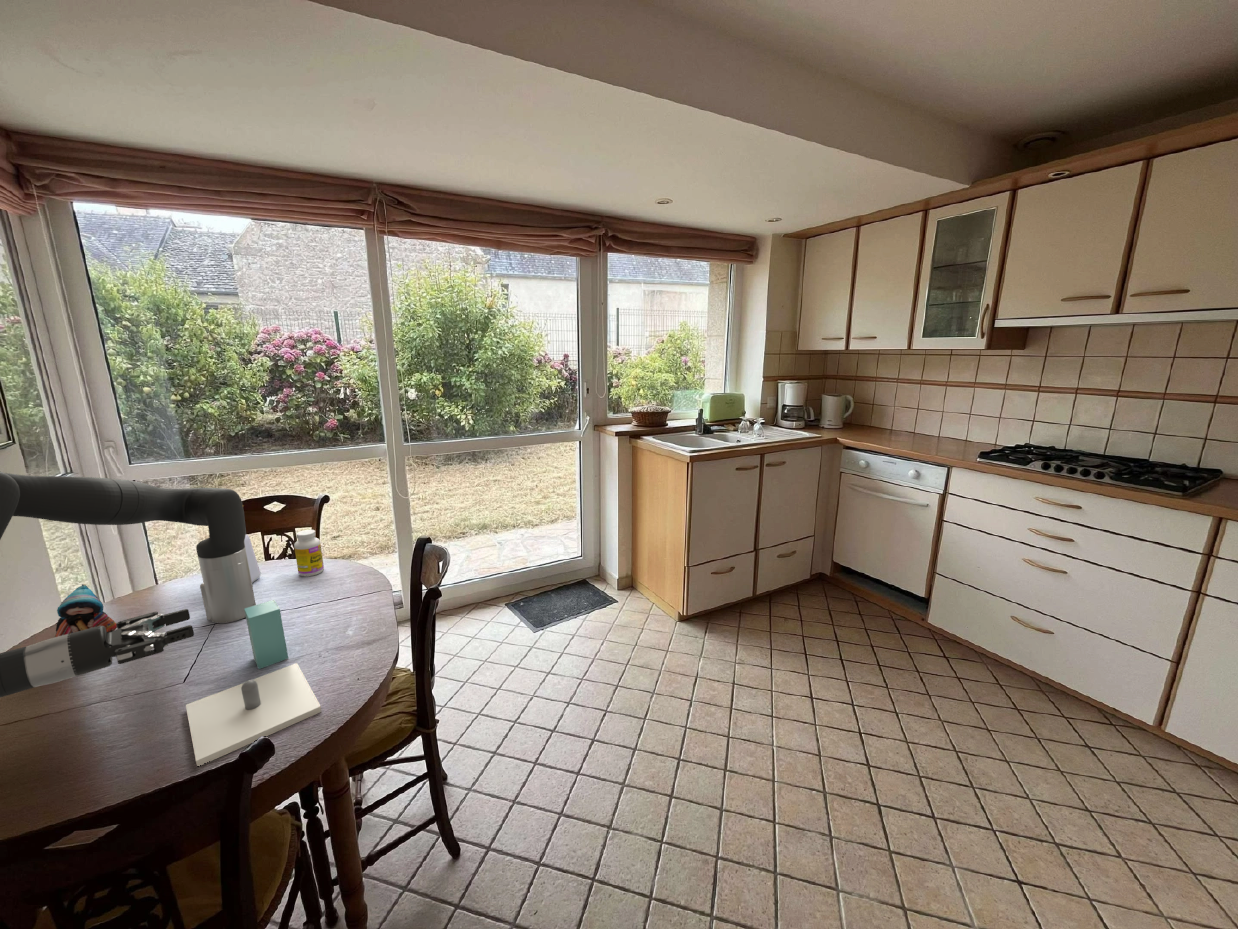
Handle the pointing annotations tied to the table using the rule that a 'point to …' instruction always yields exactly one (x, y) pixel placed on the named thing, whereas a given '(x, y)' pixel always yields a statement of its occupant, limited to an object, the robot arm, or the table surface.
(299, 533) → the supplement bottle
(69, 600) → the figurine
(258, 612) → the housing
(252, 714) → the stub base
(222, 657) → the table surface
